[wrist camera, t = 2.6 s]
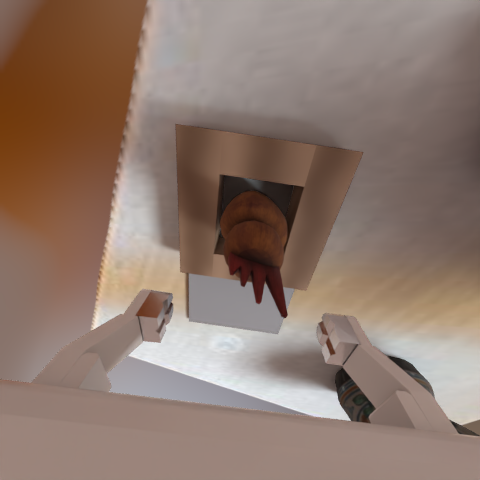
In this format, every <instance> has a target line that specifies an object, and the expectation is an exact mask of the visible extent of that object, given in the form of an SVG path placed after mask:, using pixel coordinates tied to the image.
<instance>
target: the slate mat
mask: <svg viewBox="0 0 480 480" xmlns="http://www.w3.org/2000/svg"><path fill="white" fill-rule="evenodd" d="M283 290H284V296H285V302H286V308H288V306H289V303H290V300H291V297H292V295H293V292H294V289H292V288H285V287H283ZM283 319H284V318H283V317H282V316H281V315H280V312H279V310H278V308H277V306H276V304H275V302H274V299H273V297H272V295H271V293H270V291H269V289H268V286H267V285H265V284H264V290H263V296H262V301H261V303H260V304H257V303H256V301H255V296H254V291H253V285H252V283H251V282H247V283H246V285H245V287H242V286H241V284H240V281H237V280H230V279H224V278H217V277H210V276H203V275H196V274H189V321H191V322H198V323H205V324H212V325H219V326H225V327H232V328H239V329H246V330H253V331H260V332H267V333H274V334H278V333H279V330H280V327H281V324H282V322H283Z"/></svg>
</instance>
